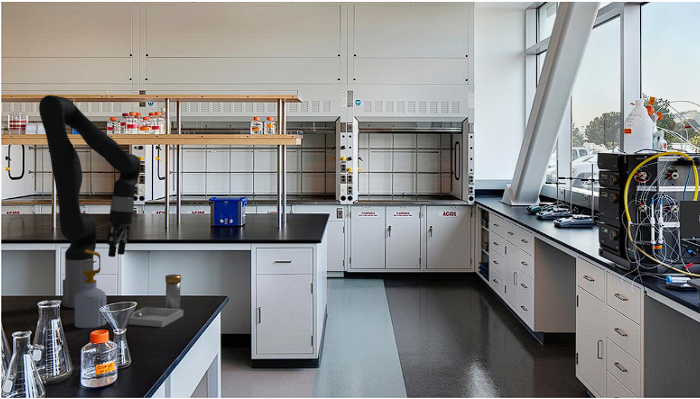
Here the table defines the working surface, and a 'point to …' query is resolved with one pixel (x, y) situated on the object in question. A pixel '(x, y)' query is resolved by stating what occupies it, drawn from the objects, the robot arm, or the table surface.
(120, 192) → the robot arm
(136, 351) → the table surface
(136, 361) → the table surface
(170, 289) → the shaker
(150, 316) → the tray
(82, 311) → the soap bottle
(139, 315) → the ball
